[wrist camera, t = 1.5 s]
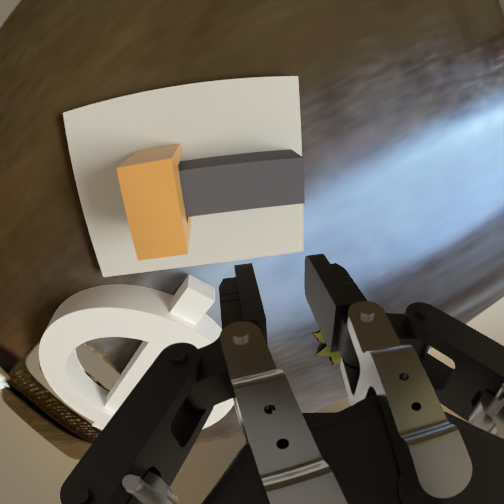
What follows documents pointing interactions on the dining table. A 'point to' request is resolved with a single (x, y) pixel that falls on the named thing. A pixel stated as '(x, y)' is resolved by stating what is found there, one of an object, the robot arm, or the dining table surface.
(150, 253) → the orange arch block
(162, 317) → the ring with crossbar
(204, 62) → the dining table surface
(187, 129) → the mat
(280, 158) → the long grey rectangular bar
